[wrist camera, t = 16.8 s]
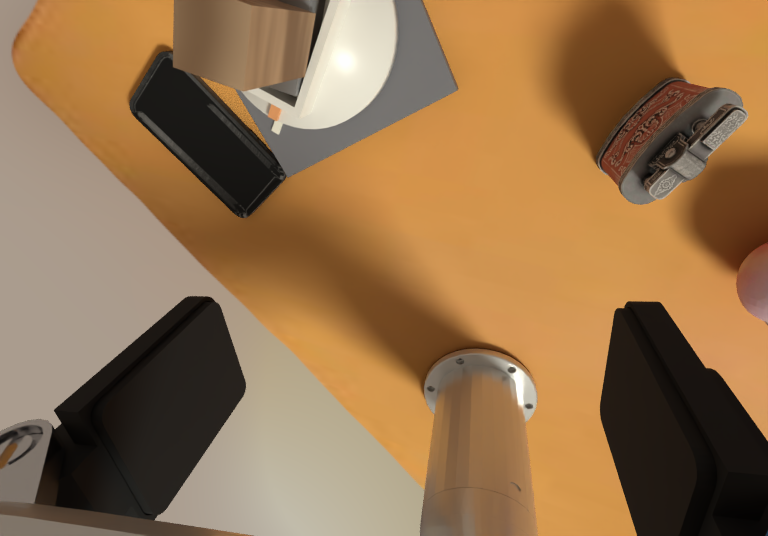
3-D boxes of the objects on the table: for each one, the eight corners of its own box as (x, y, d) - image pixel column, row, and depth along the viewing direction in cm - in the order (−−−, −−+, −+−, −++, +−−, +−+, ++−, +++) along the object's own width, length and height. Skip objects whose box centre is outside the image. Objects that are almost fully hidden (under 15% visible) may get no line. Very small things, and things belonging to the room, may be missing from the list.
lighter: (618, 181, 35) (661, 228, 27) (585, 159, 35) (618, 200, 27) (702, 93, 31) (784, 115, 23) (665, 67, 31) (736, 79, 22)
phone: (243, 222, 44) (125, 108, 40) (248, 218, 45) (133, 106, 41) (289, 174, 40) (163, 44, 37) (293, 170, 41) (172, 44, 38)
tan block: (334, -9, 30) (255, -32, 19) (315, 93, 33) (240, 119, 23) (281, -27, 30) (174, -59, 20) (267, 77, 33) (172, 96, 23)
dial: (253, -124, 29) (218, -148, 25) (432, -22, 30) (424, -31, 26) (210, 75, 36) (178, 80, 32) (355, 153, 37) (340, 167, 33)
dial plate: (458, 88, 34) (457, 90, 33) (294, 173, 41) (287, 178, 39) (351, -173, 28) (344, -185, 27) (178, -25, 35) (164, -27, 33)
